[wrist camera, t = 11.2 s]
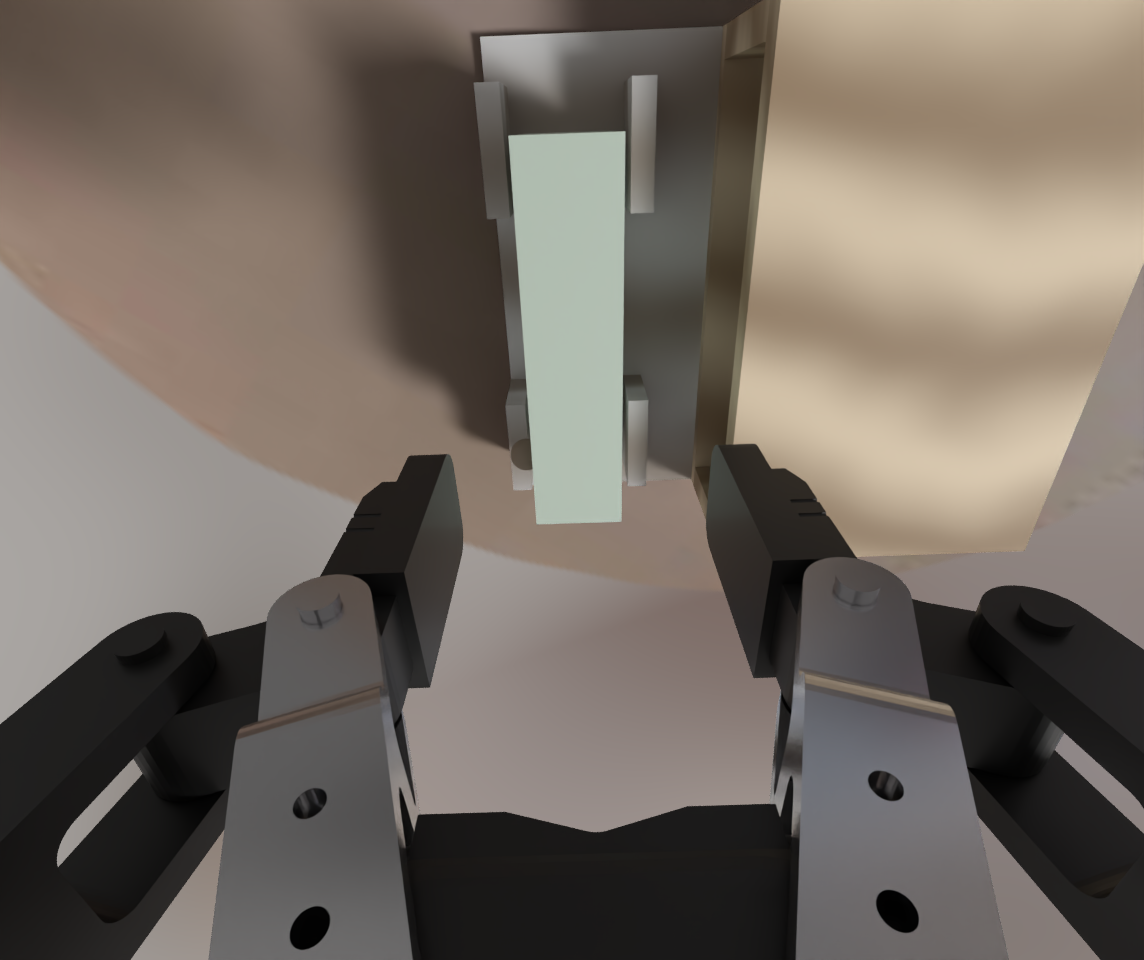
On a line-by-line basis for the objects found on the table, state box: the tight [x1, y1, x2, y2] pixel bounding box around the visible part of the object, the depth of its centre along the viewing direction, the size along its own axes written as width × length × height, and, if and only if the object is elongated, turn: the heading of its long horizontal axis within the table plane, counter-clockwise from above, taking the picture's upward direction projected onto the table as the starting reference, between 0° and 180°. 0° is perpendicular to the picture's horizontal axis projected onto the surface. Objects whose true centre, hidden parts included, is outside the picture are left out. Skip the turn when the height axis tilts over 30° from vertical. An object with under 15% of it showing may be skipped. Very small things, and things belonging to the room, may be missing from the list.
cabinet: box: [474, 0, 1144, 557], centre depth 23 cm, size 18×20×7 cm
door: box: [508, 131, 625, 524], centre depth 22 cm, size 12×4×8 cm, turn 2°
